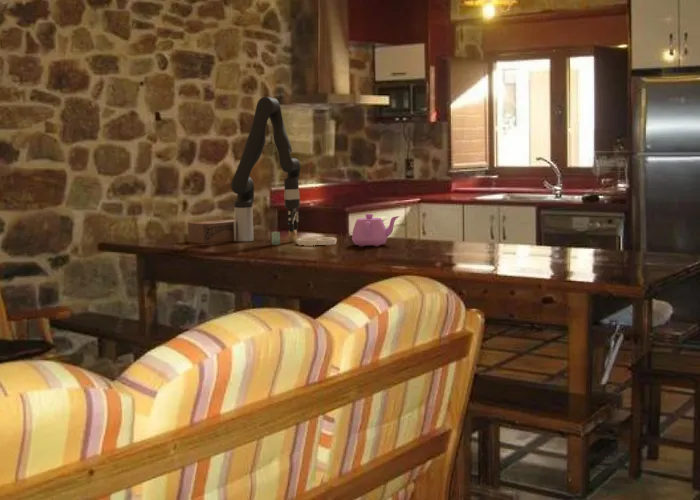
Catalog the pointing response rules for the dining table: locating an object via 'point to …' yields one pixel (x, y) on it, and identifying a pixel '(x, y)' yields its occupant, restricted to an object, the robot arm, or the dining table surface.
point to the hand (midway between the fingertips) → (293, 230)
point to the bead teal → (275, 238)
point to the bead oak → (293, 236)
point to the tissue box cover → (211, 231)
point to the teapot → (371, 231)
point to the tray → (316, 241)
